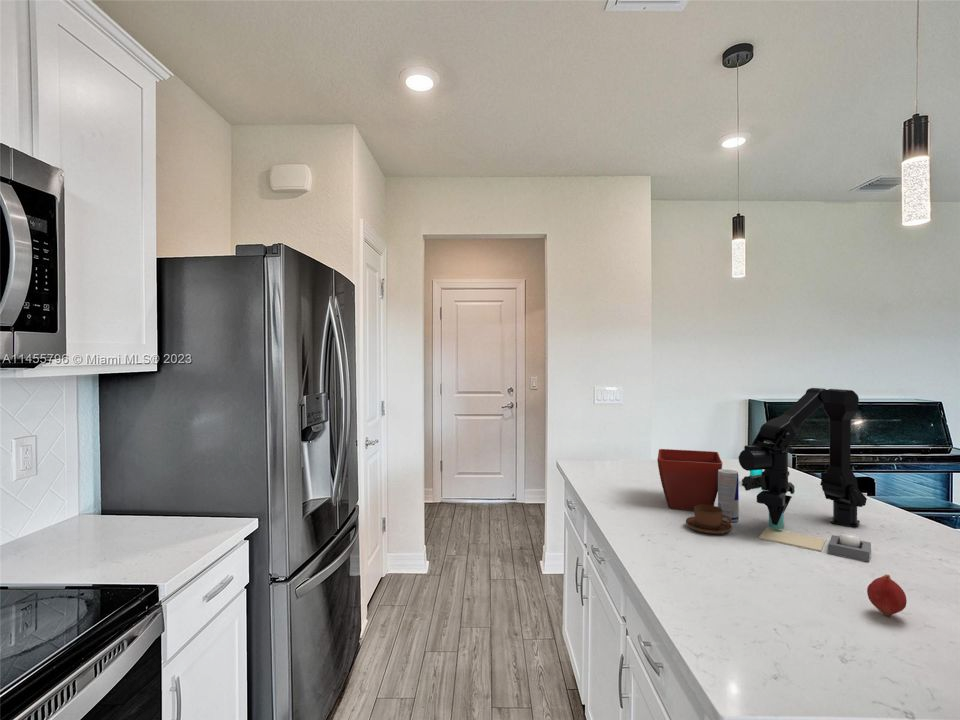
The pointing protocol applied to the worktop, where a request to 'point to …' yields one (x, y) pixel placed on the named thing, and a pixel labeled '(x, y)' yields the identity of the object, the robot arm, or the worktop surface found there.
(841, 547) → the button housing
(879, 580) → the onion
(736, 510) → the beverage can
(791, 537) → the paper pad
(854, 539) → the button
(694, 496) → the plant pot
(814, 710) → the worktop surface
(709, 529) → the cup and saucer
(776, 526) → the teal grey-topped cylinder
